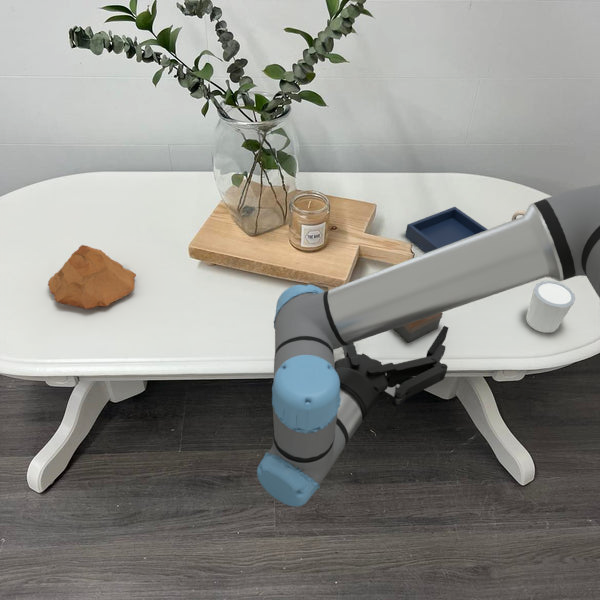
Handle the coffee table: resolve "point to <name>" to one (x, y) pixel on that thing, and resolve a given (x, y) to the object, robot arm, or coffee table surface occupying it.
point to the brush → (419, 327)
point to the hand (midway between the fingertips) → (405, 315)
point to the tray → (442, 229)
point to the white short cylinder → (549, 306)
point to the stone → (91, 280)
